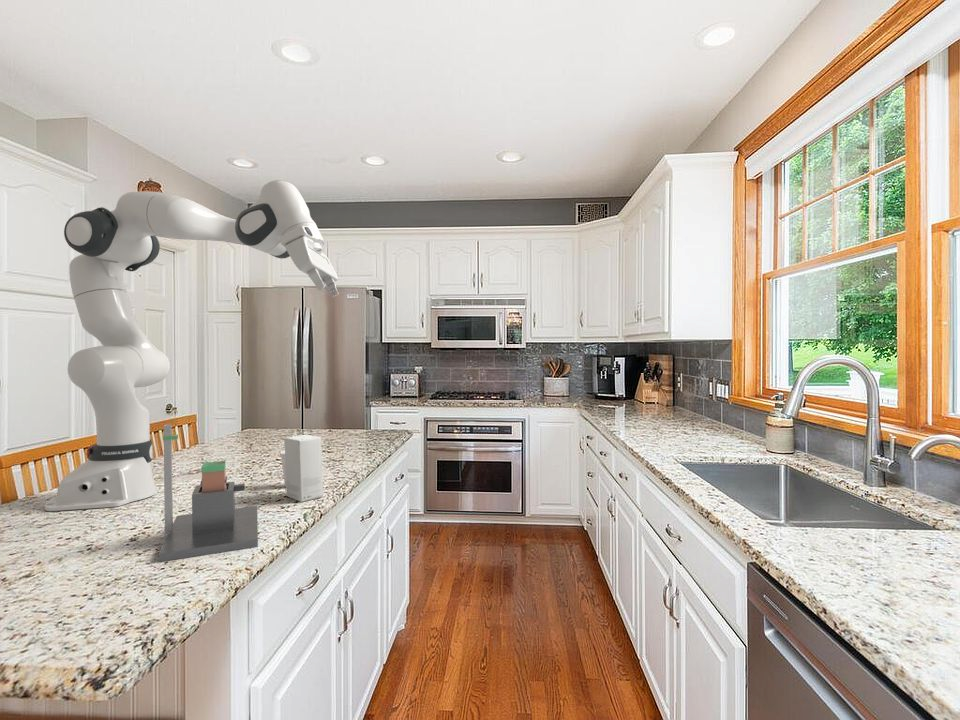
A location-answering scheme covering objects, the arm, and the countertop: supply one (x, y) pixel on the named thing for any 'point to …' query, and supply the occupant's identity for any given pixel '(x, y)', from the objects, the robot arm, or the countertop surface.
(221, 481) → the column
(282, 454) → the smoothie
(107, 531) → the countertop surface
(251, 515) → the stand
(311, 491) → the skincare box
